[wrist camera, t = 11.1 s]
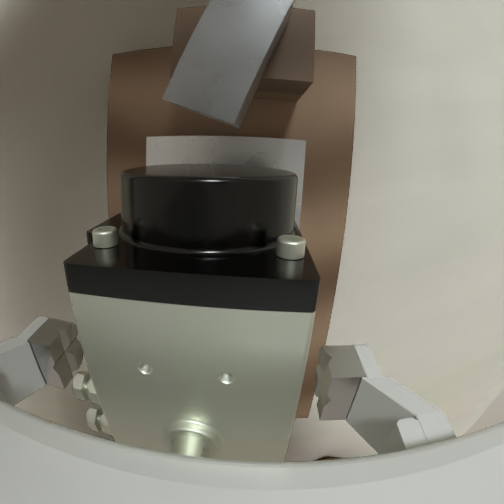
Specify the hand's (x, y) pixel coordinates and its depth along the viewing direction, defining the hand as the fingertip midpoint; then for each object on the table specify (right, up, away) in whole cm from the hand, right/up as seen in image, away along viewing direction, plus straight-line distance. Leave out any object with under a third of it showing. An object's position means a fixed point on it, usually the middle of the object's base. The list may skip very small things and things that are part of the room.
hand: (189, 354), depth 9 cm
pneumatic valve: (0, +2, +8) cm, 8 cm away
